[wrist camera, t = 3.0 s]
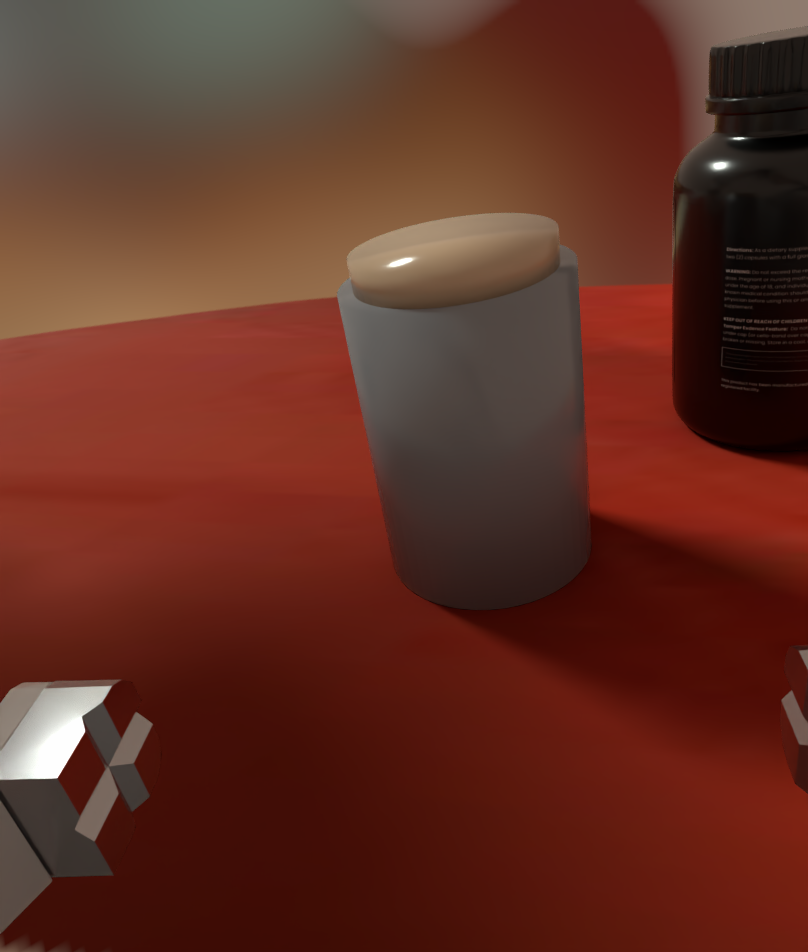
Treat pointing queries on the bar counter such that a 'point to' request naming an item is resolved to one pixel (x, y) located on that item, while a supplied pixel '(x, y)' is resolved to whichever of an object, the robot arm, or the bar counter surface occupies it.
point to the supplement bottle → (745, 251)
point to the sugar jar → (474, 404)
